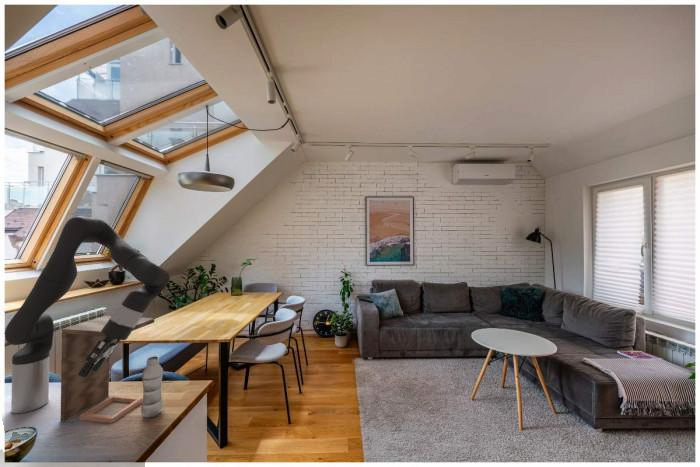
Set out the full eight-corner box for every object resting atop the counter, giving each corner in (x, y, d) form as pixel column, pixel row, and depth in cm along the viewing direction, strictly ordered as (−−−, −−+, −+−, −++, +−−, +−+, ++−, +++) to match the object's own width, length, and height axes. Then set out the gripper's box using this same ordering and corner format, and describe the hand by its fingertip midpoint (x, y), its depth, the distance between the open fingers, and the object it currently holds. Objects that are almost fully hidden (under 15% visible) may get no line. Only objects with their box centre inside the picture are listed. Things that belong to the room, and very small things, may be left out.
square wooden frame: (113, 398, 112) (113, 395, 112) (142, 401, 111) (142, 397, 111) (79, 419, 100) (79, 415, 100) (112, 423, 99) (112, 418, 99)
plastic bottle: (138, 422, 99) (139, 363, 99) (143, 410, 106) (144, 355, 106) (160, 418, 102) (161, 361, 102) (164, 407, 108) (165, 353, 108)
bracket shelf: (105, 395, 115) (106, 315, 115) (152, 399, 112) (154, 318, 112) (60, 421, 99) (62, 328, 99) (114, 427, 97) (116, 332, 96)
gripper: (117, 316, 100) (83, 364, 94) (103, 318, 88) (63, 373, 82) (139, 325, 102) (108, 372, 96) (129, 328, 90) (91, 382, 84)
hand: (87, 373), depth 89 cm, fingers open, 8 cm apart
